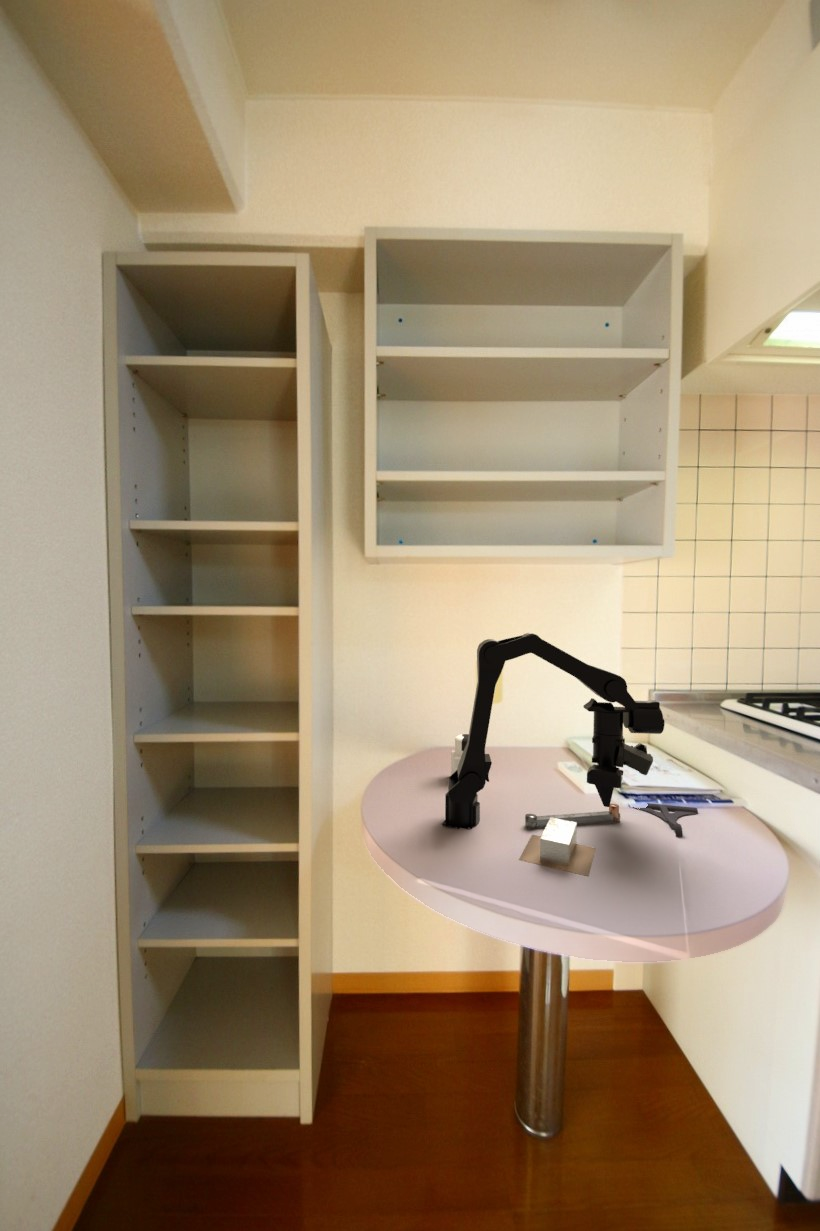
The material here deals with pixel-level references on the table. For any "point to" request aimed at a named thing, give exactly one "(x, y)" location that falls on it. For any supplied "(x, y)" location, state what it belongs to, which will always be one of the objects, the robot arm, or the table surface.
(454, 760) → the medicine bottle
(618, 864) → the table surface
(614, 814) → the lever
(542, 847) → the stone-textured block
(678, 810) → the bracket
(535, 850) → the plate
